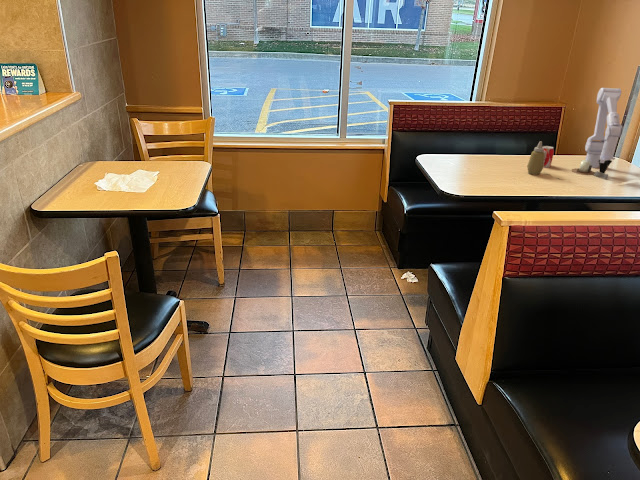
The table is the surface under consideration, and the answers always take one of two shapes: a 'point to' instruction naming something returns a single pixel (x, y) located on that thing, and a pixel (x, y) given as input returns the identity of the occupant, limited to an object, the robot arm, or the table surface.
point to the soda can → (548, 155)
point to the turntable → (591, 173)
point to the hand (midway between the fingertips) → (601, 173)
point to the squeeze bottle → (536, 160)
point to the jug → (584, 165)
